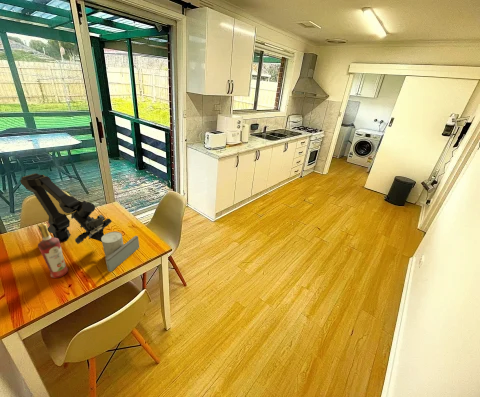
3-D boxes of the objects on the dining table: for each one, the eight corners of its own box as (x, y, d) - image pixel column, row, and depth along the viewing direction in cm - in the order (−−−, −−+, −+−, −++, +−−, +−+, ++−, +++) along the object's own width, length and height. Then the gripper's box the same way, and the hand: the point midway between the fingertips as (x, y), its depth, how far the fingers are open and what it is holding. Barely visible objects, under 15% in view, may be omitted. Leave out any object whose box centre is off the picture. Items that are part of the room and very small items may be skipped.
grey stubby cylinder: (105, 263, 116) (100, 244, 110) (105, 252, 123) (101, 233, 118) (125, 258, 120) (122, 240, 115) (124, 248, 127) (121, 230, 122)
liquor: (64, 266, 112) (48, 218, 99) (72, 272, 109) (56, 224, 96) (47, 275, 106) (27, 226, 93) (55, 282, 103) (35, 232, 90)
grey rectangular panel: (108, 271, 111) (105, 259, 108) (137, 246, 129) (135, 235, 126) (110, 272, 111) (108, 260, 108) (139, 247, 129) (137, 236, 126)
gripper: (73, 222, 105) (97, 246, 108) (106, 205, 121) (125, 227, 124) (65, 232, 111) (87, 255, 113) (97, 214, 127) (116, 235, 129)
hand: (105, 242), depth 120 cm, fingers closed, pressing on grey stubby cylinder
